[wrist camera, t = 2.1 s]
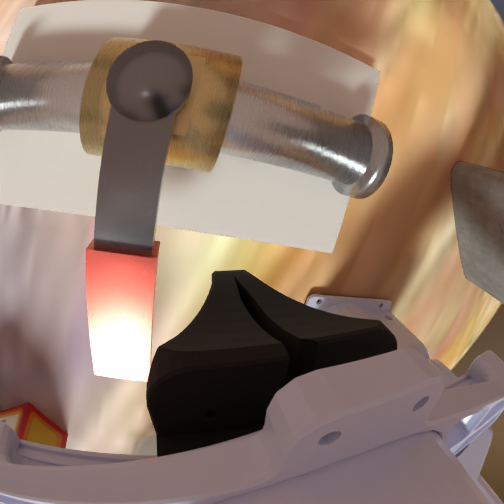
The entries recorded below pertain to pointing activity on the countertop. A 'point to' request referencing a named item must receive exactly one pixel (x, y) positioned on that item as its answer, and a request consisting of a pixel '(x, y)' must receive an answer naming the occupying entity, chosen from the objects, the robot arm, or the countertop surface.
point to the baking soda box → (33, 426)
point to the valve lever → (132, 205)
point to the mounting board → (226, 167)
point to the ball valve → (204, 118)
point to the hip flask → (480, 225)
